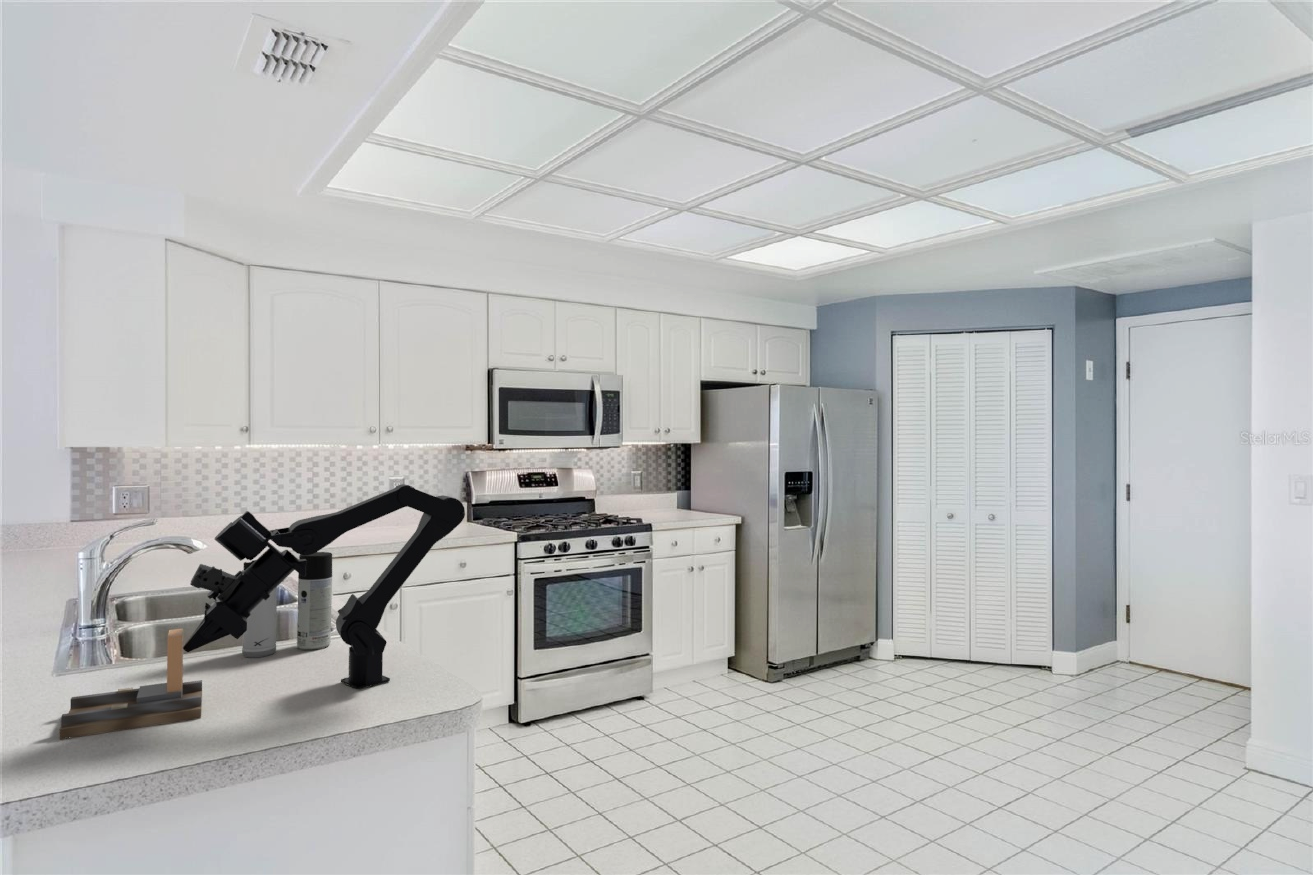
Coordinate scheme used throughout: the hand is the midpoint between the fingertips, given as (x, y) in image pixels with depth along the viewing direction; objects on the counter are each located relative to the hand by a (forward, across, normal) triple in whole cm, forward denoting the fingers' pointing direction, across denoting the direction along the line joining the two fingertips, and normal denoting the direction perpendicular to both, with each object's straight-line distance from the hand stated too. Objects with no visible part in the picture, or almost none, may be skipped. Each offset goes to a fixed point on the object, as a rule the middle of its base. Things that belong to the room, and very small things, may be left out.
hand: (185, 650), depth 125 cm
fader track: (+12, 0, +2) cm, 12 cm away
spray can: (-9, -30, +23) cm, 39 cm away
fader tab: (+8, 0, +3) cm, 9 cm away
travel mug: (-2, -29, +16) cm, 33 cm away
